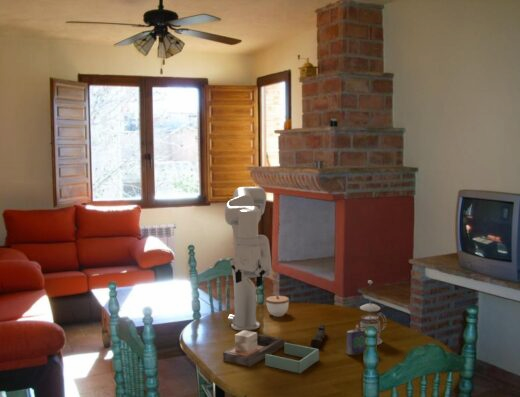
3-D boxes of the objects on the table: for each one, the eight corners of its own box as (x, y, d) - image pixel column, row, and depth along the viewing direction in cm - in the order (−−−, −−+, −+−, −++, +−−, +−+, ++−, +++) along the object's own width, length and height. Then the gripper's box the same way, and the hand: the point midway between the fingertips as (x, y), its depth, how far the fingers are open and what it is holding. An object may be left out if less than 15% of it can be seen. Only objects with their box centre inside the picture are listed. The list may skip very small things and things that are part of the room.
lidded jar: (261, 315, 259) (261, 295, 259) (275, 310, 268) (275, 291, 267) (279, 319, 253) (279, 299, 252) (293, 314, 261) (293, 294, 260)
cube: (235, 350, 204) (234, 334, 204) (244, 345, 209) (243, 330, 209) (248, 353, 201) (248, 337, 201) (257, 348, 206) (257, 332, 206)
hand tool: (320, 349, 214) (320, 338, 213) (310, 348, 215) (310, 337, 214) (329, 334, 231) (329, 323, 231) (320, 333, 233) (320, 322, 232)
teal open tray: (265, 365, 198) (265, 354, 197) (285, 352, 210) (285, 342, 210) (300, 373, 190) (300, 362, 190) (318, 359, 202) (318, 349, 202)
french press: (365, 335, 229) (365, 276, 227) (390, 341, 221) (391, 280, 219) (353, 341, 221) (353, 280, 219) (379, 347, 214) (379, 284, 212)
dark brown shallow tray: (223, 360, 203) (223, 351, 203) (258, 341, 223) (258, 333, 223) (250, 366, 197) (250, 357, 197) (283, 346, 217) (283, 338, 217)
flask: (348, 355, 206) (348, 328, 205) (345, 353, 209) (345, 325, 208) (370, 352, 209) (370, 325, 208) (366, 350, 212) (366, 323, 211)
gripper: (224, 240, 213) (225, 283, 216) (261, 245, 204) (262, 289, 206) (235, 237, 220) (236, 278, 222) (272, 241, 210) (272, 284, 212)
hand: (248, 283), depth 214 cm, fingers open, 9 cm apart
